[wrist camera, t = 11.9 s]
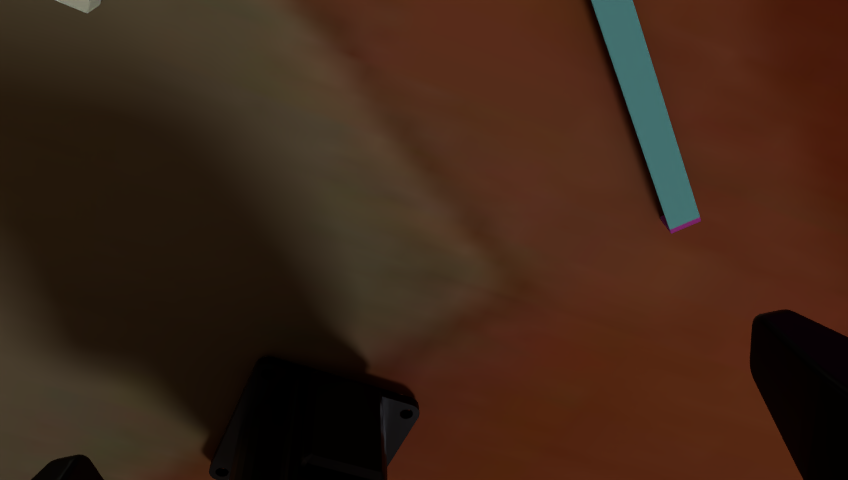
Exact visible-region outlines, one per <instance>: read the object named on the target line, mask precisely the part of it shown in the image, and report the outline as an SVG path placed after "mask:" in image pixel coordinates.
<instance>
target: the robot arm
mask: <svg viewBox="0 0 848 480" xmlns="http://www.w3.org/2000/svg"><path fill="white" fill-rule="evenodd" d="M265 369H271V370H273V372H266V371H264V370H265ZM750 369H751V373H752V376H753V379H754V381H755V383H756V385H757V387H758V389H759V391H760V393H761V395H762V397H763V399H764V401H765V403H766V405H767V407H768V409H769V411H770V413H771V415H772V418H773V420H774V422H775V424H776V426H777V428H778V430H779V432H780V434H781V436H782V438H783V440H784V442H785V444H786V446H787V448H788V450H789V452H790V454H791V456H792V458H793V460H794V462H795V464H796V466H797V468H798V470H799V472H800V474H801V476H802V478H803V480H848V337H846V336H844V335H842V334H840V333H838V332H836V331H834V330H832V329H829V328H827V327H825V326H823V325H821V324H819V323H817V322H815V321H813V320H810V319H808V318H806V317H804V316H802V315H800V314H798V313H796V312H793V311H791V310H778V311H773V312H768V313H763V314H759V315H757V316H756V317H755V318H754V320H753V324H752V334H751V349H750ZM405 409H409V411H402V410H405ZM418 417H419V405H418V402H417V401H416V400H415V399H413V398H411V397H407V396H404V395H400V394H397V393H394V392H390V391H387V390H384V389H380V388H377V387H373V386H370V385H367V384H363V383H360V382H356V381H353V380H350V379H346V378H343V377H340V376H336V375H333V374H329V373H326V372H323V371H319V370H316V369H313V368H309V367H306V366H302V365H299V364H296V363H292V362H289V361H285V360H282V359H279V358H275V357H270V356H267V357H262V358H260V359H259V360H258V361H257V362H256V364H255V366H254V368H253V370H252V373H251V375H250V377H249V379H248V382H247V384H246V386H245V388H244V390H243V393H242V395H241V397H240V399H239V401H238V404H237V406H236V408H235V410H234V412H233V415H232V417H231V419H230V421H229V423H228V426H227V428H226V430H225V432H224V435H223V437H222V439H221V441H220V443H219V446H218V448H217V450H216V452H215V454H214V457H213V459H212V461H211V465H210V469H209V474H210V476H211V477H212V478H214V479H216V480H387V466H388V465H389V463H390V462H391V460H392V458H393V457H394V455H395V454H396V452H397V450H398V449H399V447H400V446H401V444H402V442H403V441H404V439H405V438H406V436H407V435H408V433H409V431H410V430H411V428H412V427H413V425H414V423H415V422H416V420H417V419H418ZM223 468H225V469H223ZM31 480H104V479H103V478H102V476H101V475H100V473H99V472H98V471H97V469H96V468H95V466H94V465H93V463H92V462H91V460H90V459H89V458H88V457H86V456H84V455H73V456H69V457H64V458H59V459H56V460H53V461H51V462H50V463H48V464H47V465H46V466H45V467H44V468H43V469H42V470H41V471H40V472H39V473H38V474H37V475H36V476H35V477H33V478H32V479H31Z"/></svg>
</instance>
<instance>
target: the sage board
mask: <svg viewBox="0 0 848 480" xmlns="http://www.w3.org/2000/svg"><path fill="white" fill-rule="evenodd" d="M56 1H58V2H60V3H63V4H65V5H68V6H70V7H73V8H75V9H78V10H80V11H82V12H85V13H89V12H90V11H92V10H93V9H95V8H96V7H98V6H99V5H100V3H101V0H56Z"/></svg>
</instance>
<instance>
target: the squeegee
mask: <svg viewBox="0 0 848 480" xmlns="http://www.w3.org/2000/svg"><path fill="white" fill-rule="evenodd" d="M591 2H592V5H593V8H594V11H595V14H596V17H597V20H598V23H599V26H600V29H601V31H602V34H603V37H604V40H605V43H606V46H607V49H608V52H609V55H610V58H611V61H612V64H613V67H614V69H615V72H616V75H617V78H618V81H619V84H620V87H621V90H622V93H623V96H624V99H625V102H626V105H627V107H628V110H629V113H630V116H631V119H632V122H633V125H634V128H635V131H636V134H637V137H638V140H639V143H640V145H641V148H642V151H643V154H644V157H645V160H646V163H647V166H648V169H649V172H650V175H651V178H652V181H653V183H654V186H655V189H656V192H657V195H658V198H659V201H660V204H661V207H662V210H663V213H664V215H663V216H661V217H660V219H661V221H662V222H663V224H664V225H665V226H666V228H667V229H668V230H669V231H670V233H674V232H676V231H678V230H681V229H683V228H685V227H688V226H690V225H692V224H695V223H697V222H699V221H701V219H700V216H699V212H698V209H697V206H696V203H695V200H694V196H693V193H692V190H691V187H690V184H689V180H688V177H687V174H686V171H685V167H684V164H683V161H682V158H681V155H680V151H679V148H678V145H677V142H676V139H675V135H674V132H673V129H672V126H671V122H670V119H669V116H668V113H667V110H666V106H665V103H664V100H663V97H662V94H661V90H660V87H659V84H658V81H657V77H656V74H655V71H654V68H653V65H652V61H651V58H650V55H649V52H648V49H647V45H646V42H645V39H644V36H643V32H642V29H641V26H640V23H639V20H638V16H637V13H636V10H635V7H634V4H633V0H591Z"/></svg>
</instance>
